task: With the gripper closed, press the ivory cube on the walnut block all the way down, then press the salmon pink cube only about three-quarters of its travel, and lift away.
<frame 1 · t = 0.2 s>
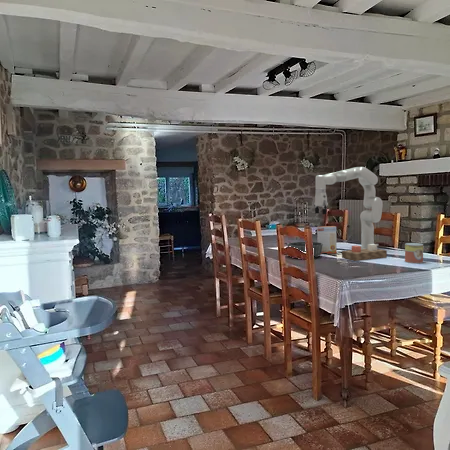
hand: (320, 213, 318), 31 cm above the table, tool pointing down, fingers open, 9 cm apart
canned food: (413, 262, 279), on the table
bundt pan: (304, 257, 310), on the table
cracker box: (326, 253, 323), on the table
salmon pink cube: (356, 249, 296), point 7 cm above the table, slide at 0.0 cm
ivory cube: (372, 247, 301), point 7 cm above the table, slide at 0.0 cm
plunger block: (364, 257, 299), on the table
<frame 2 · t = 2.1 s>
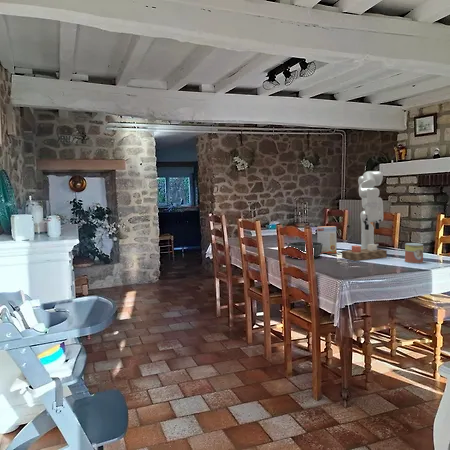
hand: (372, 229, 299), 20 cm above the table, tool pointing down, fingers open, 8 cm apart
nothing on the table moved.
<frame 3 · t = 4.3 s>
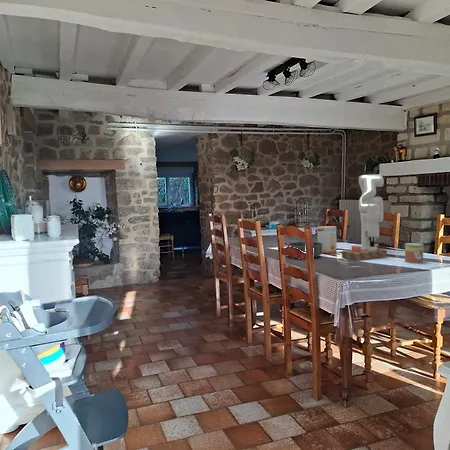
hand: (372, 246, 300), 8 cm above the table, tool pointing down, fingers closed
ivory cube: (372, 249, 301), point 5 cm above the table, slide at 1.4 cm, touching gripper
everything else where it was.
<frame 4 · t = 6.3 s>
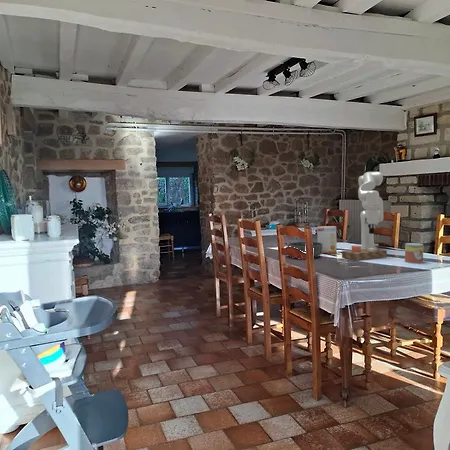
hand: (371, 233, 299), 17 cm above the table, tool pointing down, fingers closed
ivory cube: (372, 251, 301), point 4 cm above the table, slide at 3.0 cm
everything else where it was.
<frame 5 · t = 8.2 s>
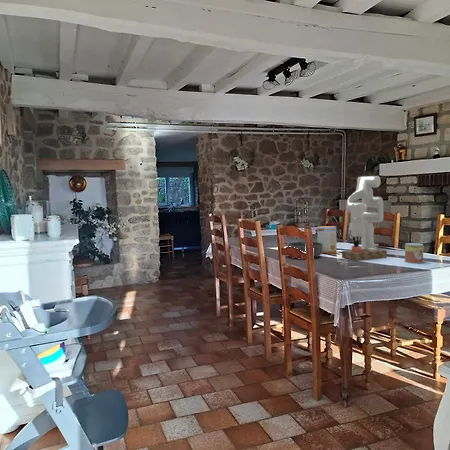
hand: (356, 246, 295), 9 cm above the table, tool pointing down, fingers closed
salmon pink cube: (356, 249, 296), point 7 cm above the table, slide at 0.2 cm, touching gripper
everything else where it was.
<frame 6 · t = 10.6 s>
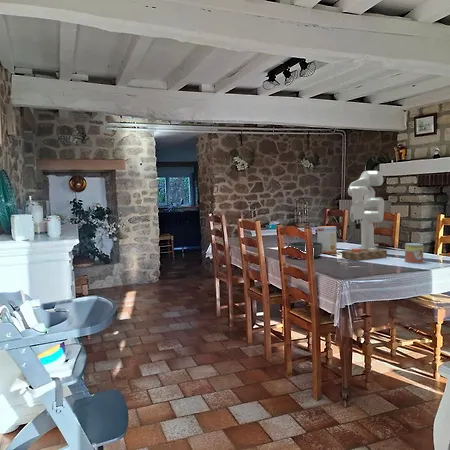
hand: (357, 228, 304), 20 cm above the table, tool pointing down, fingers closed
salmon pink cube: (356, 252, 296), point 5 cm above the table, slide at 2.1 cm
everything else where it was.
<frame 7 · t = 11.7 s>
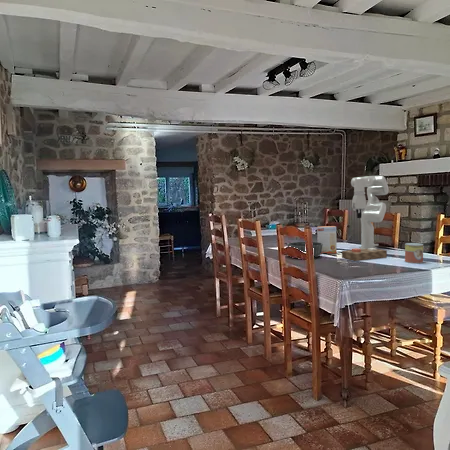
hand: (359, 217, 317), 27 cm above the table, tool pointing down, fingers closed
nothing on the table moved.
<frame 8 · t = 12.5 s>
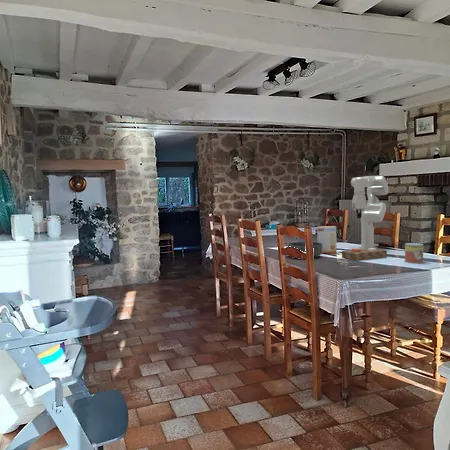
hand: (359, 217, 317), 27 cm above the table, tool pointing down, fingers closed
nothing on the table moved.
at the end: ivory cube slide at 3.0 cm; salmon pink cube slide at 2.1 cm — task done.
